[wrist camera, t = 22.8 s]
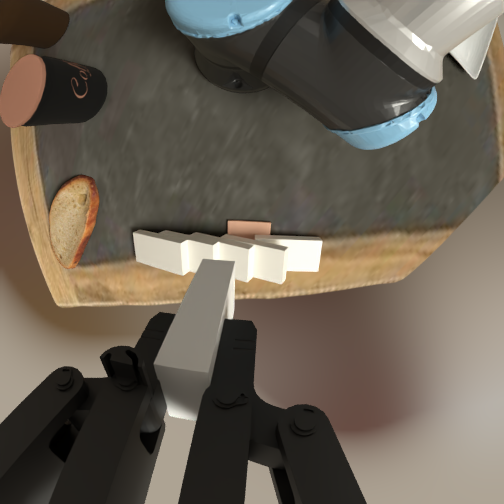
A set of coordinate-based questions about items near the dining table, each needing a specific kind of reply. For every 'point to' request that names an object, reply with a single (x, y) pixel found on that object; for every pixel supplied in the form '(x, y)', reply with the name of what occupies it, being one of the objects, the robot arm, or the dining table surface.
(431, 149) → the dining table surface
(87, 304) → the dining table surface
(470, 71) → the square plate
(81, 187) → the slice of bread
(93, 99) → the coffee jar
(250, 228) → the mat
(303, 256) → the domino
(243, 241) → the domino
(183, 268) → the domino
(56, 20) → the olive oil
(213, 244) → the domino
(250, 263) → the domino
